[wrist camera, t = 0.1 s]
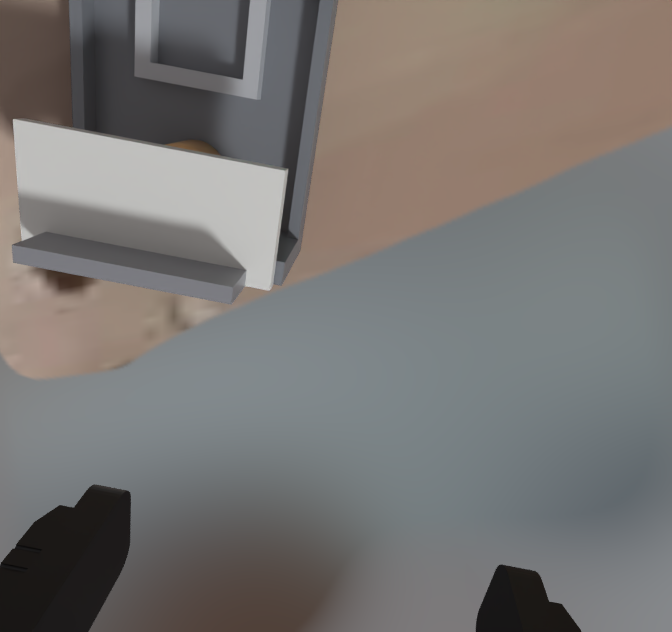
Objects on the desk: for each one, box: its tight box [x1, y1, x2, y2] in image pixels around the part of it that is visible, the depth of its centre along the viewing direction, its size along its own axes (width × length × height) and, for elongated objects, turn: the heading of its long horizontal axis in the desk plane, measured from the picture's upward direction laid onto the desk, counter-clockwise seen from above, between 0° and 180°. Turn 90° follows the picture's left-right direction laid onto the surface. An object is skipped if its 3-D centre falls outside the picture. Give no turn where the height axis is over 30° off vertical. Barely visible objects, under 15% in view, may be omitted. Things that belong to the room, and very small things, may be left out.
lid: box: [12, 118, 288, 304], centre depth 28 cm, size 7×15×4 cm, turn 80°
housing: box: [69, 0, 338, 286], centre depth 31 cm, size 18×16×8 cm
